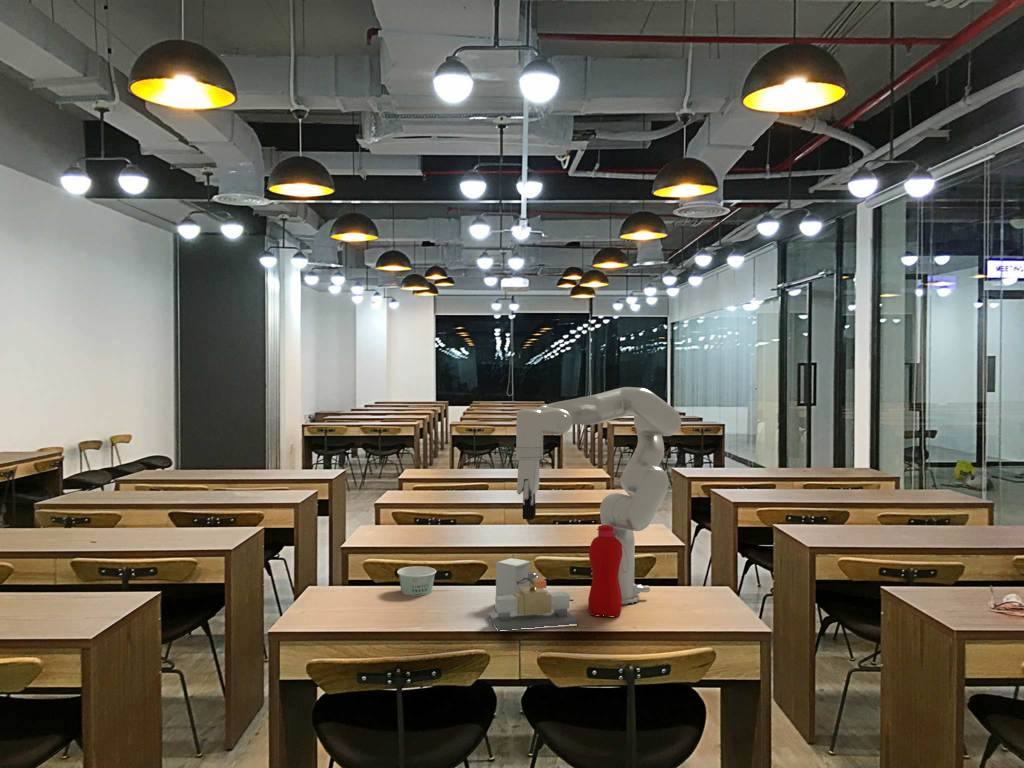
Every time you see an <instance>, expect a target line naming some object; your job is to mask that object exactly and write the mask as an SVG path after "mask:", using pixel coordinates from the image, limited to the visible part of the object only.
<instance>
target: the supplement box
mask: <svg viewBox="0 0 1024 768" xmlns="http://www.w3.org/2000/svg"><path fill="white" fill-rule="evenodd" d="M495 566H496V567H495V569H496V570H495V574H496V575H495V596H506V595H514V592H519V587H530V581H528V573H530V571H531V561H529V560H525V559H524V560H523V559H518V558H513V557H512V558H507V559H503V560H500V561H497V562H496V564H495Z"/></svg>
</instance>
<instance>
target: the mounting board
mask: <svg viewBox="0 0 1024 768" xmlns="http://www.w3.org/2000/svg"><path fill="white" fill-rule="evenodd" d="M487 614H488V615H487V618H489V619H490V620H491V621H490V620H489V619H488V620H489V621H490V623H491V622H492V623H493V624H494V625H495V627H496V628H497V629H498V631H500V630H512V629H521V628H535V627H544V626H558V625H569V624H578V625H579V623H578V622H579V621H578V619H577V618H575V617H574V615H572V613H570V611H568V610H567V617H558V616H557V615H556V614H555V613H554V609H553V610H551V612H550V613H546V614H536V615H524V614H521V615H518V614H517V612H510V621H501V620H500V619H499V617H498V612H497V611H496V612H488V613H487ZM492 623H491V624H492ZM493 624H492V625H493ZM494 625H493V626H494ZM495 627H494V628H495ZM496 628H495V629H496ZM497 629H496V630H497ZM498 631H497V632H498Z"/></svg>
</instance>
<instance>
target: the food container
mask: <svg viewBox="0 0 1024 768" xmlns="http://www.w3.org/2000/svg"><path fill="white" fill-rule="evenodd" d="M396 573H397V574H398V580H399V584H400V591H401V594H402V593H403V594H402V595H404V594H405V596H408V595H412V596H411V597H423V596H427V595H431V593H432V591H433V586H434V581H435V576H436V575H435V574H436V573H437V570H436V568H433V567H430V566H420V565H419V566H417V565H416V566H407V567H406V566H405V567H401V568H399V569H398V570H396ZM422 595H423V596H422Z"/></svg>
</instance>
